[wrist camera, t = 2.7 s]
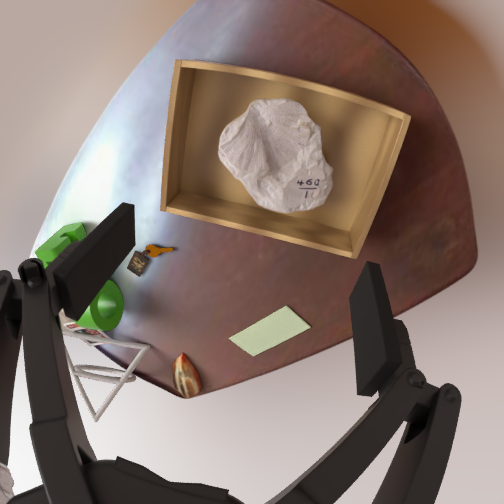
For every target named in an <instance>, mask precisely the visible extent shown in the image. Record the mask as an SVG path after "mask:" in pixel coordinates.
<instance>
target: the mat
mask: <svg viewBox="0 0 504 504" xmlns="http://www.w3.org/2000/svg"><path fill="white" fill-rule="evenodd" d="M309 328H311V326H310V325H309V324H308V323H306V322H305V321H304V320H303V319H302V318H301V317H300V316H298V315H297V314H296V313H295V312H294V311H293V310H292V309H290V308H289V307H288V306H287V305H286V306H284V307H283V308H281V309H279V310H278V311H276V312H274V313H273V314H271V315H269V316H267V317H266V318H264V319H262V320H260V321H259V322H257V323H255V324H253V325H252V326H250V327H248V328H246V329H244V330H243V331H241V332H239V333H237V334H235V335H234V336H232V337H230V338H229V339H230V340H231V341H233V342H234V343H235V344H237V345H238V346H240V347H241V348H242V349H244V350H245V351H246V352H248V353H249V354H251V355H252V356H255V355H257V354H259V353H261V352H263V351H265V350H267V349H269V348H271V347H273V346H275V345H277V344H279V343H281V342H283V341H285V340H287V339H289V338H291V337H293V336H295V335H297V334H299V333H301V332H303V331H305V330H307V329H309Z"/></svg>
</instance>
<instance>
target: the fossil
mask: <svg viewBox="0 0 504 504" xmlns="http://www.w3.org/2000/svg"><path fill="white" fill-rule="evenodd" d="M321 132H322V130H321V126H320V125H319V124H317V123H315V122H313V121H312V120H311V119H310V118H309V116H308V113H307V111H306V110H305V108H304V107H303V106H302V105H301V104H300V103H299V102H297V101H295V100H291V99H286V98H274V99H256V100H255V101H253V102H252V103H250V105H249V107H248V109H247V110H246V112H244V113H243V114H242V115H241V116H239V117H238V118H236V119H234V120H233V121H232V122H231V123H229V124H228V125H227V126H226V127H225V129H224V130H223V132H222V134H221V136H220V142H219V150H218V155H219V158H220V161H221V162H222V163H223V164H224V165H225V166H226V167H227V169H228V170H229V171H230V172H231V174H232V175H233V176H234V177H235V178H236V179H238V180H240V181H241V182H242V183H243V185H244V186H245V188H246V190H247V191H248V193H249V194H250V195H251V196H252V197H253V199H254V200H255V202H256V203H257V204H258V205H259V206H262V207H264V208H266V209H269V210H272V211H277V212H283V213H292V212H295V211H305V210H312V209H315V208H316V207H319V206H320V205H323V204H324V203H325V200H326V198H327V197H328V195H329V193H330V191H331V189H332V187H333V180H332V176H331V175H332V172H333V167H331V166H330V165H329V164H328V163H327V162H326V160H325V158H324V156H323V154H322V150H321V147H322V139H321Z"/></svg>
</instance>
